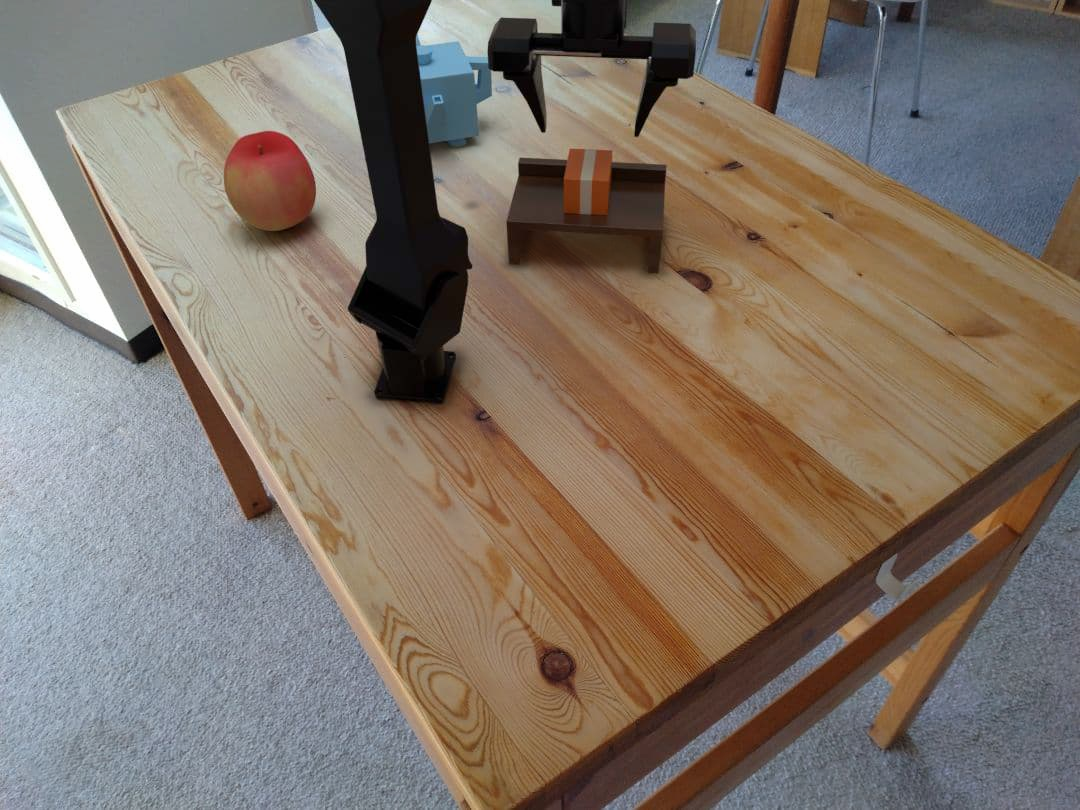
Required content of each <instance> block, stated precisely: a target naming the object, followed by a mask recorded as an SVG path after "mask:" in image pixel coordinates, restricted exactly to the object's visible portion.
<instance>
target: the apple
mask: <svg viewBox="0 0 1080 810" xmlns="http://www.w3.org/2000/svg"><path fill="white" fill-rule="evenodd" d="M223 185H224V190H225V194H226V197H227V200H228V201H229V204H230V205H231V207H232V209H233V210H234V212H236V214H237V215H239V217H240V218H241V219H242V220H243V221H245V222H246V223H247V224H249V225H251V226H252V227H254V228H257V229H259V230H263V231H267V232H268V231H269V232H279V231H283V230H286V229H289V228H292V227H295V226H296V225H298V224H300V223H301V222H303V221H304V220H305V219H306V218H307V217H308V216H309V215H310V214H311V213H312V211H313V209H314V206H315V204H316V197H317V185H316V177H315V175H314V172H313V169H312V168H311V164H310V163H309V161H308V159H307V157H306V156H305V154H304V153H303V151H302V150H301V148H300V147H299V145H298V144H297V143H296V142H295V141H294V140H293V139H292V138H291V137H289V136H288V135H287V134H284V133H281V132H278V131H275V130H263V131H258V132H254V133H250V134H246V135H244V136H241V137H240V138H239V139H237V141H236V142H235V143H234V144H233V147H232V148H231V150H230V151H229V153H228V155H227V157H226V160H225V163H224V168H223Z"/></svg>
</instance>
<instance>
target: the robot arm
mask: <svg viewBox="0 0 1080 810" xmlns="http://www.w3.org/2000/svg"><path fill="white" fill-rule="evenodd" d="M313 1H314V3H315V4H316V6H317V7H318V9H319V10H320V12H321V14H322V15H323V17H324V18H325V19H326V21H327V22H328V24H329V25H330V27H331V28H332V30H333V32H334V33H335V34H336V36H337V37H338V39H339V41H340V42H341V45H342V48H343V52H344V57H345V62H346V67H347V71H348V78H349V82H350V88H351V93H352V97H353V103H354V108H355V114H356V118H357V123H358V128H359V133H360V139H361V144H362V149H363V154H364V160H365V164H366V170H367V175H368V180H369V185H370V189H371V190H370V191H371V195H372V200H373V205H374V211H375V215H376V216H375V217H376V220H375V222H374V224H373V227H372V228H371V231H370V232H369V234H368V237H367V238H366V241H365V246H364V248H365V249H364V251H365V268H364V270H363V272H362V275H361V277H360V279H359V281H358V284H357V286H356V288H355V290H354V293H353V295H352V296H351V299H350V302H349V303H348V306H347V311H348V313H349V314H350V315H351V317H352V318H353V319H354V321H355V322H357V323H358V324H359V325H360V324H363V325H364V326H366V327H367V328H368V329H371V330H373V331H374V332H375V337H376V341H377V346H378V350H379V356H380V360H381V364H382V369H381V371H380V374H379V377H378V380H377V382H376V385H375V388H374V391H373V394H374V397H375V399H380V400H392V401H403V402H404V401H405V402H418V403H427V404H428V403H430V404H442V403H443V402H444V401H445V400H446V396H447V393H448V390H449V386H450V382H451V379H452V375H453V371H454V367H455V365H456V360H457V354H456V352H455V351H452V350H445V349H444V346H445V345H446V344H448V343H449V342H450V341H451V340H452V339H454V338H455V337H456V336H457V335H459V334H460V333H461V328H462V323H463V317H464V311H465V307H466V306H465V305H466V300H467V294H468V286H469V273H468V272H469V271H468V270H472V269H473V264H472V262H471V260H470V257H469V236H468V233H467V230H466V228H465V227H464V226H462V225H460V224H458V223H456V222H453V221H451V220H450V219H447V218H445V217H442V216H441V215H440V212H439V208H438V200H437V191H436V184H435V177H434V169H433V162H432V161H433V160H432V153H431V146H430V143H429V138H428V131H427V123H426V115H425V108H424V100H423V93H422V85H421V78H420V70H419V62H418V55H417V47H416V36H417V35H418V34H419V32H420V29H421V26H422V25H423V22H424V20H425V18H426V15H427V13H428V11H429V9H430V6H431V4H432V2H433V0H313ZM551 6H553V7H560V17H561V18H560V32H539V31H538V30H539V28H538V20H537V18H529V17H527V18H526V17H500V18H499V19H498V20H497V21H496V22H495V23H494V25H493V28H492V31H491V34H490V36H489V38H488V41H487V57H488V68H489V69H490V70H491V72H494V73H495V72H498V73H502V78H503V79H504V80H505V81H511V82H513V83H514V85H515V86H516V88H517V89H518V91H519V92H520V94H521V96H522V97H523V98H524V100H525V102H526V104H527V105H528V108H529V109H530V112H531V114H532V116H533V118H534V120H535V122H536V125H537V127H538V129H539V131H540V132H541V133H542V134H545V133H546V132H547V124H548V123H547V118H548V117H547V115H548V114H547V106H546V97H545V88H544V81H543V73H542V70H543V69H542V57H543V56H544V57H566V58H567V57H571V58H593V59H594V58H597V59H600V58H601V59H622V60H623V59H625V60H646V63H645V70H644V75H643V80H642V84H641V90H640V94H639V99H638V102H637V103H638V104H637V109H636V113H635V120H634V121H635V122H634V134H633V137H634V138H639V136H640V134H641V132H642V130H643V128H644V126H645V124H646V122H647V120H648V118H649V116H650V114H651V111H652V109H653V108H654V106H655V105H656V103H657V102H658V100H659V99H660V97H661V96H662V94H664V91H666V89H667V88H669V87H670V88H673V87H676V86H678V84H679V80H680V79H681V80H688V79H690V78H693V77H694V73H695V72H694V71H695V65H696V54H697V53H696V52H697V30H696V29H695V28H694V26H693V25H692V24H691V23H686V22H685V23H683V22H682V23H681V22H656V21H655V22H653V26H652V28H653V29H652V36H649V35H646V36H645V35H625V29H626V28H627V16H628V0H551Z"/></svg>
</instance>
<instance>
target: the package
mask: <svg viewBox="0 0 1080 810" xmlns="http://www.w3.org/2000/svg"><path fill="white" fill-rule="evenodd" d="M566 160H567V165H566V170H565V176H564V213H574V214H588V215H591V214H593V215H607V212H608V204H609V195H610V187H611V171H612V162H613V149H612V150H611V149H594V148H571V147H569V150H568V155H567V159H566Z"/></svg>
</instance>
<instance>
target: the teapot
mask: <svg viewBox="0 0 1080 810" xmlns="http://www.w3.org/2000/svg"><path fill="white" fill-rule="evenodd" d="M416 47H417V55H418V62H419V70H420V78H421V85H422V93H423V100H424V108H425V115H426V123H427V131H428V138H429V144H435V143H441V142H447V143H448V145H449V146H451V147H456V148H457V147H462V146H464V145H466V143H467V140H466V139H467V138H473V137H478V136H480V131H479V129H480V128H479V119H478V118H479V117H478V116H479V115H478V105H479V104H480V103H482V102H484V101H486V100H487V99H489V98H491V97H492V96H493V87H492V86H493V84H492V83H493V81H492V70H490V69H489V68H488V56H487V57H486V56H467V55H466V54H465V52H464V50H463V47H462V45H461V43H460V42H459V41H451V42H449V41H448V42H441V43H434V44H427V45H425V44H424V45H423V44H422V45H421V41H420V38H419V35H418V34H417V36H416ZM474 71H477V79H476V78H475V72H474Z"/></svg>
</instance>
